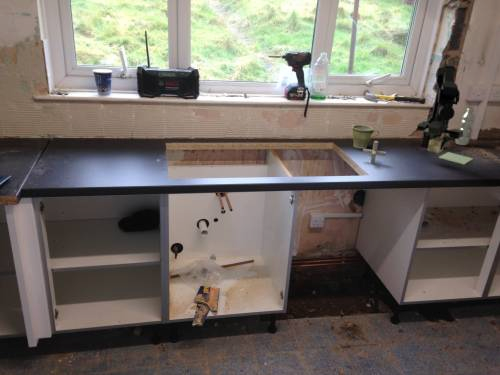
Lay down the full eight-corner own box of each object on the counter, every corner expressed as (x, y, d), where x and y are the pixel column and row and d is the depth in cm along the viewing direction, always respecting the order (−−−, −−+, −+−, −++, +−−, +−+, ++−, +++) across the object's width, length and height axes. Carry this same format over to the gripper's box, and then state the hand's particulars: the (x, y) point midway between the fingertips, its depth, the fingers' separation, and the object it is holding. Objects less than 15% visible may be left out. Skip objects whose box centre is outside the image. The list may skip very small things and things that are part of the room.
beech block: (427, 150, 195) (429, 139, 193) (431, 148, 198) (434, 137, 196) (438, 153, 192) (440, 142, 190) (442, 150, 195) (445, 140, 193)
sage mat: (438, 157, 205) (438, 156, 205) (448, 152, 213) (448, 152, 213) (464, 164, 197) (464, 163, 197) (473, 159, 205) (473, 158, 205)
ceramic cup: (349, 148, 211) (352, 129, 207) (350, 142, 220) (352, 124, 216) (376, 151, 209) (379, 132, 205) (375, 145, 217) (379, 126, 213)
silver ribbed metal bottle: (469, 147, 223) (479, 109, 215) (455, 145, 224) (465, 108, 216) (466, 143, 229) (475, 107, 221) (452, 142, 230) (462, 105, 222)
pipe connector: (384, 160, 197) (388, 140, 193) (383, 167, 188) (387, 146, 184) (362, 157, 199) (365, 137, 195) (360, 164, 191) (363, 143, 187)
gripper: (415, 113, 189) (408, 146, 195) (458, 122, 177) (449, 157, 183) (425, 109, 196) (418, 142, 203) (467, 118, 185) (458, 152, 191)
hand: (435, 148), depth 195 cm, fingers closed on beech block, 5 cm apart
